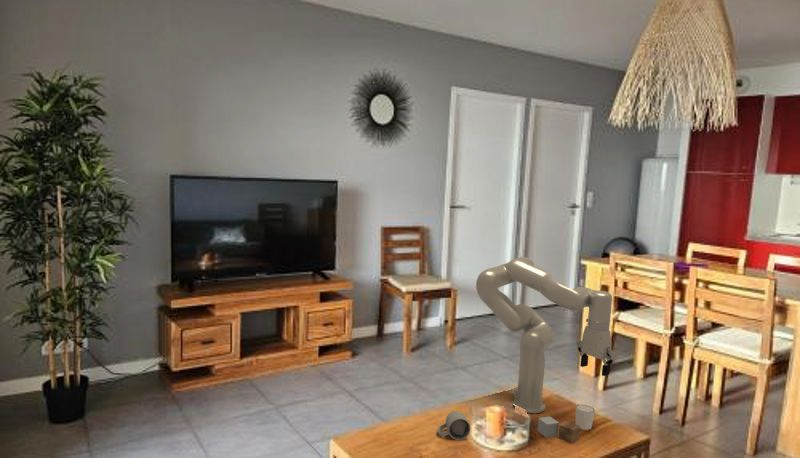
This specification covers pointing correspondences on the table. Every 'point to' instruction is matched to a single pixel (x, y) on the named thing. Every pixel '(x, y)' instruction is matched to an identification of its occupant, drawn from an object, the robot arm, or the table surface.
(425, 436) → the table surface
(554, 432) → the slate block
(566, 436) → the walnut block
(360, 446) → the table surface
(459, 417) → the ceramic mug
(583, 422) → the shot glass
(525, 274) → the robot arm
